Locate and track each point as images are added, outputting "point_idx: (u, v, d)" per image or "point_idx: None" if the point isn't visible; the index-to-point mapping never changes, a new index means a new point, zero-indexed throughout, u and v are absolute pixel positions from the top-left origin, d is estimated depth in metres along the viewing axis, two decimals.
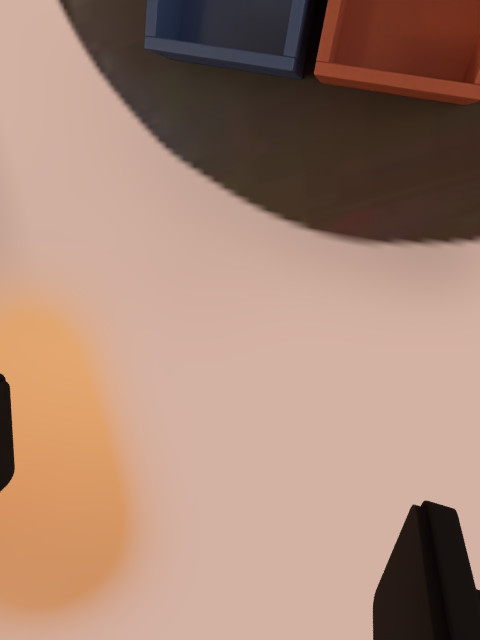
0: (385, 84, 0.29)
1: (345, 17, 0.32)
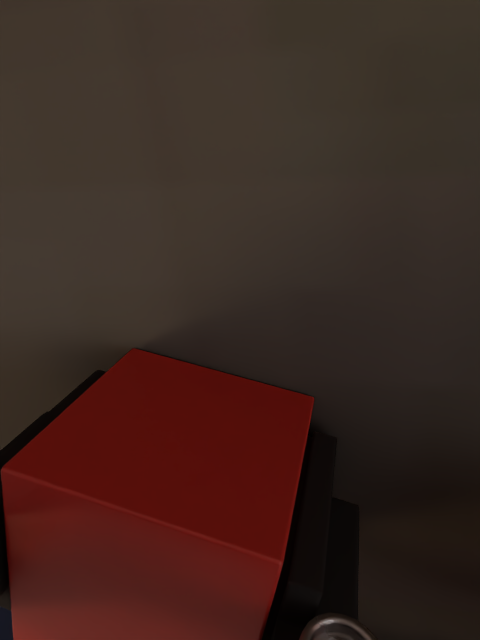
0: None
1: None
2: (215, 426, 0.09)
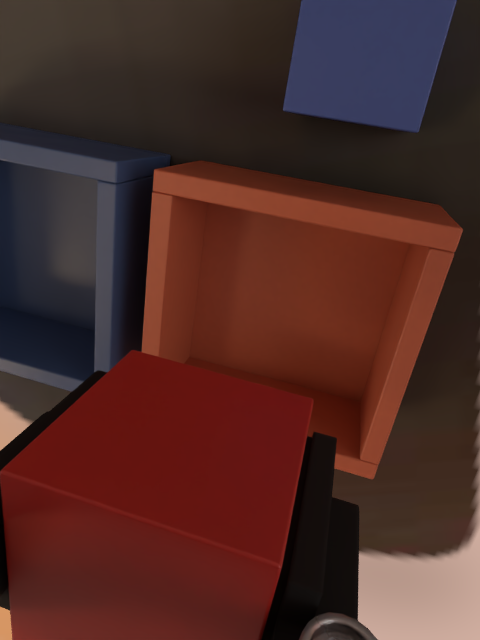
0: None
1: (198, 298, 0.23)
2: (214, 428, 0.09)
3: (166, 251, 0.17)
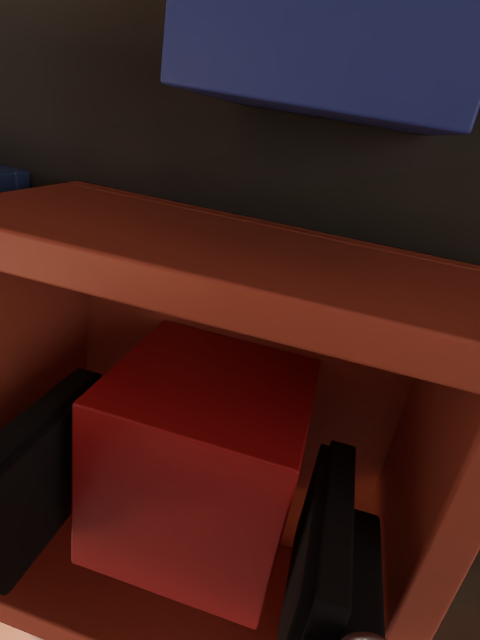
0: None
1: None
2: (239, 378, 0.10)
3: None
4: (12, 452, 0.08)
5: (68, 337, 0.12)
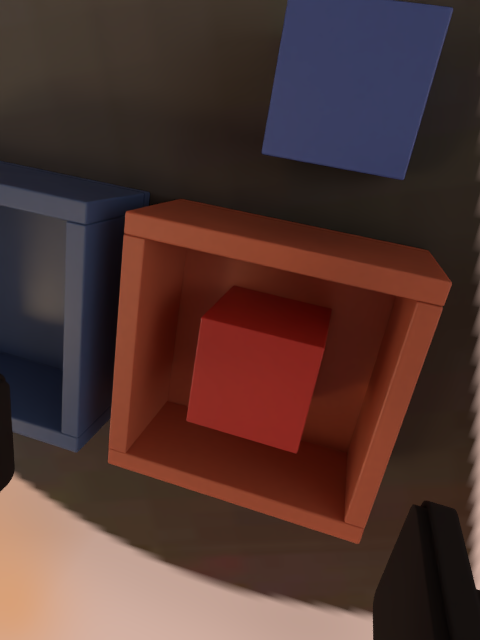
0: (211, 495, 0.18)
1: (177, 340, 0.22)
2: (285, 313, 0.18)
3: (138, 296, 0.16)
4: None
5: (173, 295, 0.20)
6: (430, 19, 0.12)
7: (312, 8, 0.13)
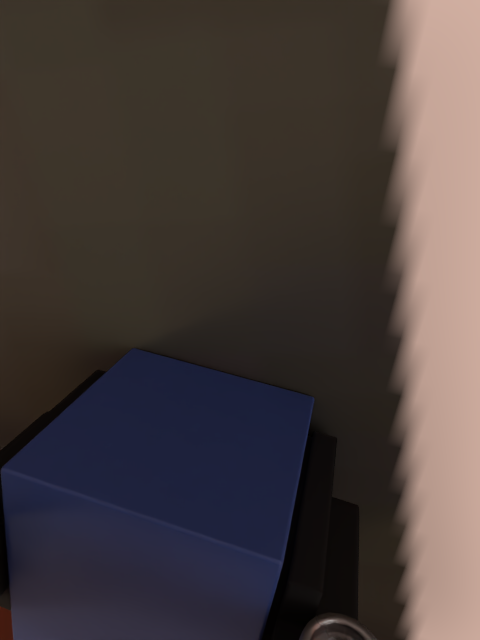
0: None
1: None
2: None
3: None
4: None
5: None
6: (243, 569, 0.06)
7: (42, 504, 0.07)
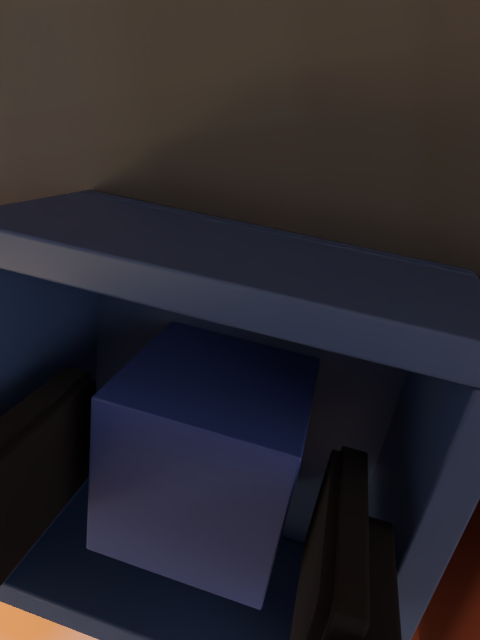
0: None
1: None
2: None
3: None
4: None
5: None
6: (272, 465, 0.09)
7: (122, 423, 0.09)
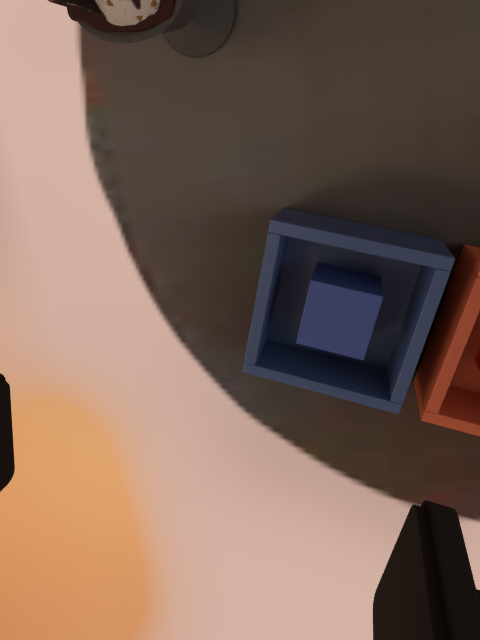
0: None
1: None
2: None
3: (477, 315, 0.26)
4: None
5: None
6: (373, 300, 0.27)
7: (320, 289, 0.28)
